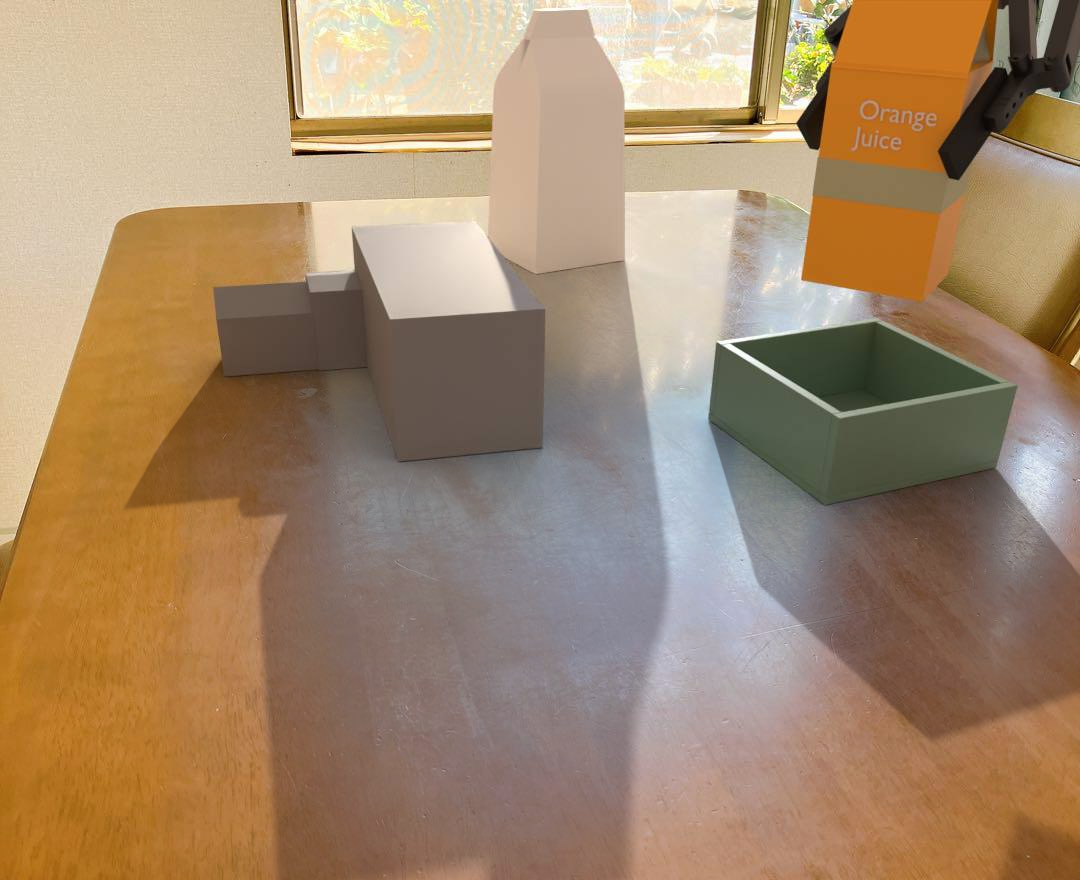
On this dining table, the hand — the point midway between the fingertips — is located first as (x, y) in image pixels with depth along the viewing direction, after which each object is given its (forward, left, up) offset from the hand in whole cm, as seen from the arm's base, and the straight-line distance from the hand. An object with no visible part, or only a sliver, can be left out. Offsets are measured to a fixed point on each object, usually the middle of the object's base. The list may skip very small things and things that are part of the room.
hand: (873, 150), depth 73 cm
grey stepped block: (+22, +30, -22) cm, 43 cm away
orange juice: (+1, -3, -9) cm, 10 cm away
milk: (+55, -2, -22) cm, 59 cm away
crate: (0, -2, -22) cm, 22 cm away
